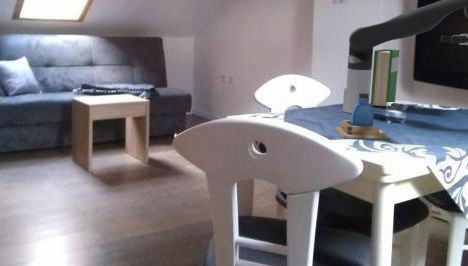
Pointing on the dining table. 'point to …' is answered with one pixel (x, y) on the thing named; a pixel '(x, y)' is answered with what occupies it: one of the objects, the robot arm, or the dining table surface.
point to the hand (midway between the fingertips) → (446, 39)
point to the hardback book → (384, 77)
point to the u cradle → (360, 131)
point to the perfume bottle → (362, 112)
